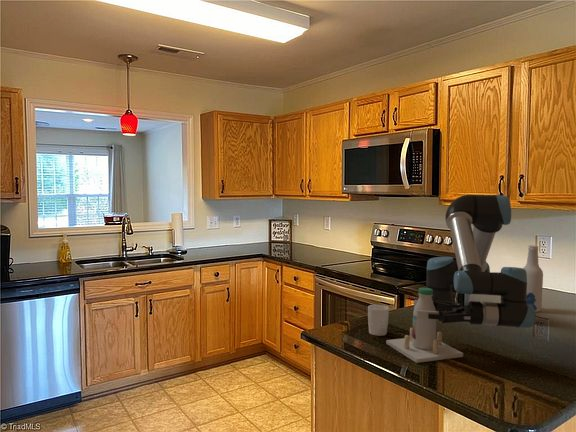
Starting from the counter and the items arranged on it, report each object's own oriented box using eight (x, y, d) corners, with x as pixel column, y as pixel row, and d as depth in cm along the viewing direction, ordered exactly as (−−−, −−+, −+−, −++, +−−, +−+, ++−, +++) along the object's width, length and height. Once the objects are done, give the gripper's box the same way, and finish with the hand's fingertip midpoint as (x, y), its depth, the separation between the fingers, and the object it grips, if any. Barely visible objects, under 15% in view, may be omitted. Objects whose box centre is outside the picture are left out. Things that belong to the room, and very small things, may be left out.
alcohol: (544, 310, 200) (547, 246, 198) (536, 313, 194) (539, 247, 193) (524, 306, 207) (527, 244, 205) (516, 309, 201) (519, 245, 200)
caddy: (386, 343, 153) (386, 328, 153) (428, 338, 159) (429, 324, 159) (416, 362, 136) (417, 345, 136) (462, 356, 142) (463, 340, 142)
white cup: (389, 331, 167) (390, 305, 166) (387, 337, 160) (387, 311, 159) (368, 328, 170) (369, 303, 169) (365, 334, 162) (366, 308, 162)
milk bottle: (439, 346, 148) (441, 288, 147) (429, 352, 142) (431, 292, 141) (418, 340, 153) (420, 285, 152) (407, 345, 148) (410, 288, 146)
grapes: (517, 316, 190) (518, 289, 189) (534, 318, 187) (536, 291, 186) (519, 323, 179) (520, 295, 178) (538, 325, 176) (539, 296, 176)
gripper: (491, 336, 131) (418, 331, 135) (473, 314, 156) (412, 310, 160) (492, 312, 131) (419, 307, 135) (473, 293, 155) (412, 290, 159)
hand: (415, 309), depth 147 cm, fingers open, 13 cm apart
